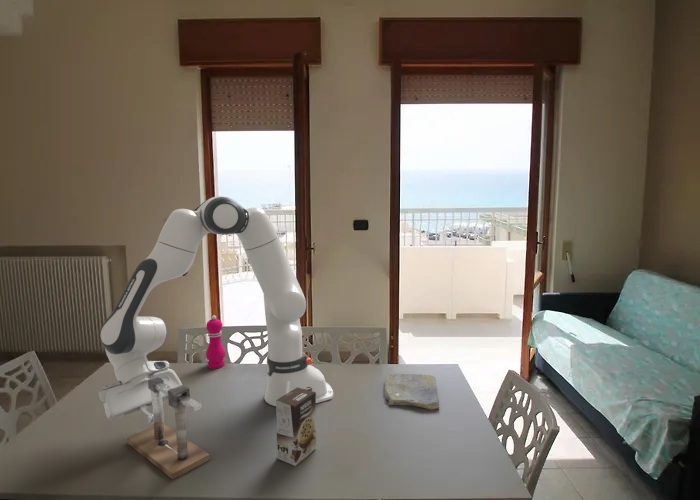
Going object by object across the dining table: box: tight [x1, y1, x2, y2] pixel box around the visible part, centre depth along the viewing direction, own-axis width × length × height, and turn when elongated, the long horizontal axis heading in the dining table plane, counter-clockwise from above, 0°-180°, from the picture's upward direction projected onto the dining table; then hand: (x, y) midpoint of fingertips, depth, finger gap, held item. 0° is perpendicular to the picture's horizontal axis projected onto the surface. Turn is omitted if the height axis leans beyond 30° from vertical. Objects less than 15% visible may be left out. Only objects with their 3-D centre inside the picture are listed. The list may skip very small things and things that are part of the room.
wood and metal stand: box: [126, 384, 211, 480], centre depth 118 cm, size 24×10×20 cm, turn 50°
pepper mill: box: [205, 314, 226, 370], centre depth 173 cm, size 7×7×20 cm
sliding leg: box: [148, 377, 203, 441], centre depth 114 cm, size 21×3×17 cm, turn 50°
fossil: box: [383, 373, 440, 411], centre depth 150 cm, size 20×5×17 cm
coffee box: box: [275, 387, 317, 467], centre depth 117 cm, size 9×6×16 cm
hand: (155, 420), depth 122 cm, fingers closed, pressing on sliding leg
